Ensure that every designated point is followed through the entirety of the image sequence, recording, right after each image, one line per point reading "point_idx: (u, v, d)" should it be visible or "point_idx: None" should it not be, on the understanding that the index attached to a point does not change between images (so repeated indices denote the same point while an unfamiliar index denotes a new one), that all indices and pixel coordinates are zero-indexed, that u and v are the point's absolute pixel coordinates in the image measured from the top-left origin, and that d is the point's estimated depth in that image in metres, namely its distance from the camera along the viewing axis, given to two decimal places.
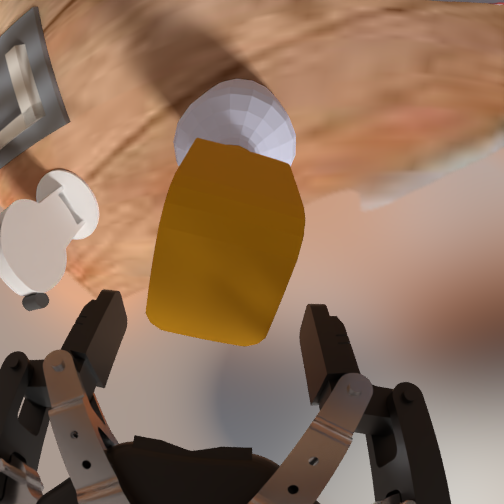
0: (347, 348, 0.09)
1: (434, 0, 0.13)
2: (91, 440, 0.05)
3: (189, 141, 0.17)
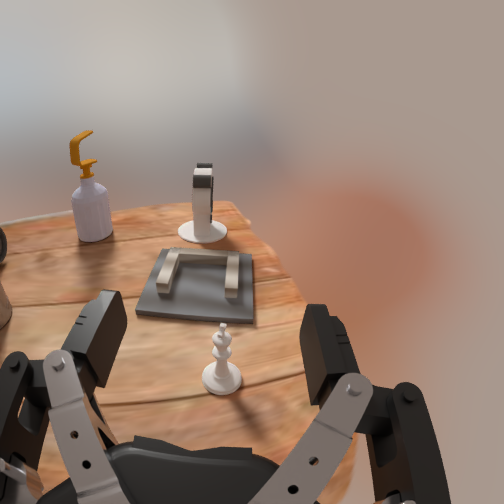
0: (347, 348, 0.09)
1: None
2: (91, 440, 0.05)
3: (94, 190, 0.53)
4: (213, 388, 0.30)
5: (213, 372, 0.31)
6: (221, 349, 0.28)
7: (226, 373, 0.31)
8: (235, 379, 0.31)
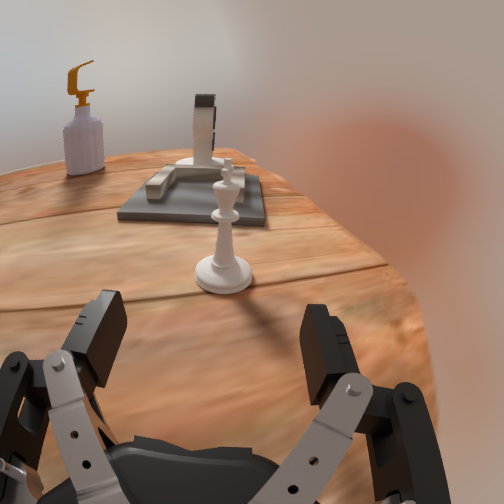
0: (347, 348, 0.09)
1: None
2: (91, 440, 0.05)
3: (88, 118, 0.45)
4: (210, 281, 0.22)
5: (211, 260, 0.23)
6: (225, 202, 0.20)
7: (230, 258, 0.23)
8: (243, 271, 0.23)
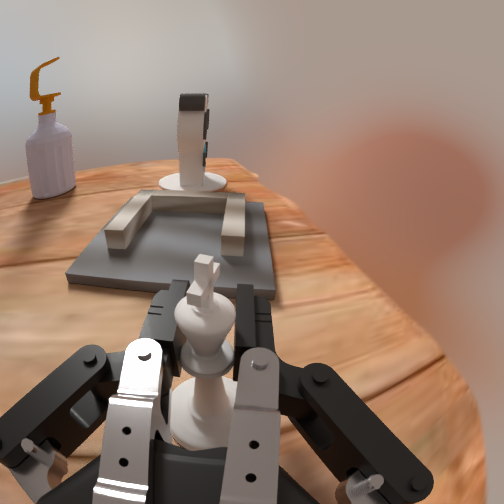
0: (267, 326, 0.10)
1: None
2: (141, 443, 0.05)
3: (52, 128, 0.34)
4: (189, 441, 0.11)
5: (190, 404, 0.12)
6: (203, 348, 0.09)
7: (221, 409, 0.11)
8: None
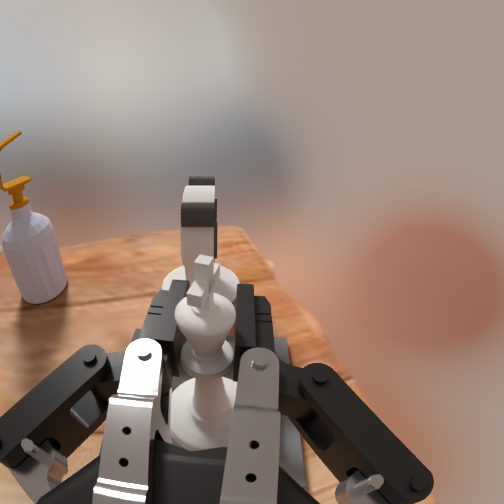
0: (267, 326, 0.10)
1: None
2: (141, 443, 0.05)
3: (28, 228, 0.29)
4: (190, 442, 0.11)
5: (190, 405, 0.12)
6: (204, 348, 0.09)
7: (221, 409, 0.11)
8: None
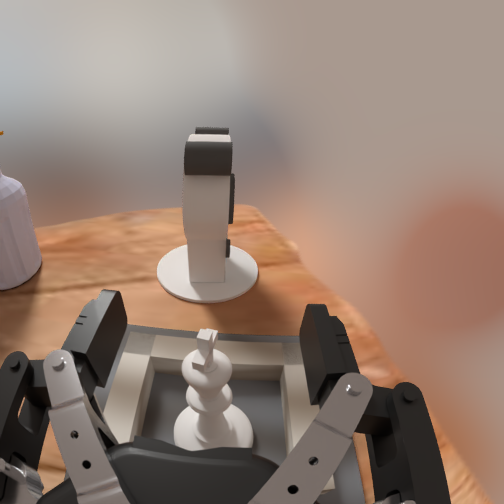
0: (347, 348, 0.09)
1: None
2: (91, 440, 0.05)
3: None
4: None
5: (195, 428, 0.13)
6: (206, 394, 0.10)
7: (222, 432, 0.13)
8: (241, 439, 0.14)
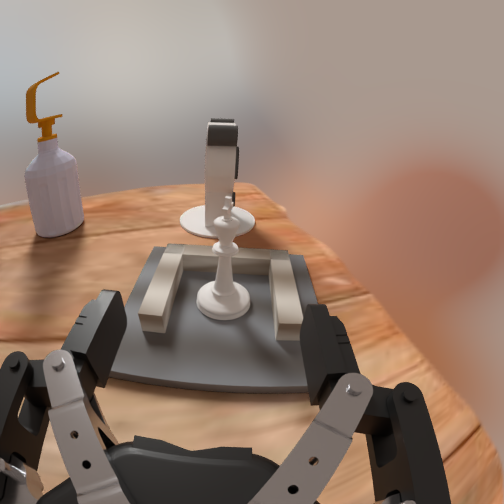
0: (347, 348, 0.09)
1: None
2: (91, 440, 0.05)
3: (54, 158, 0.31)
4: (212, 309, 0.23)
5: (212, 288, 0.24)
6: (225, 238, 0.21)
7: (230, 287, 0.24)
8: (242, 298, 0.25)
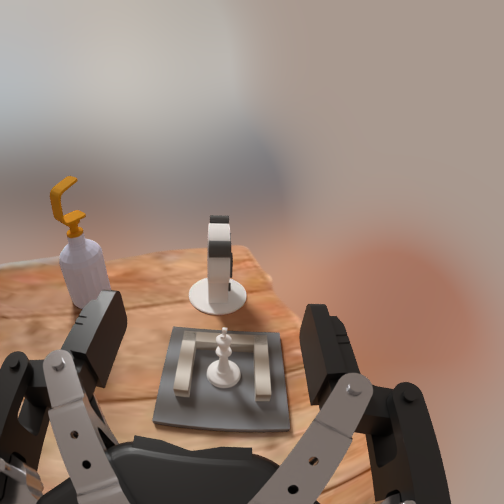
0: (347, 348, 0.09)
1: None
2: (91, 440, 0.05)
3: (85, 252, 0.43)
4: (217, 382, 0.36)
5: (216, 369, 0.37)
6: (223, 349, 0.34)
7: (227, 369, 0.37)
8: (235, 374, 0.37)
